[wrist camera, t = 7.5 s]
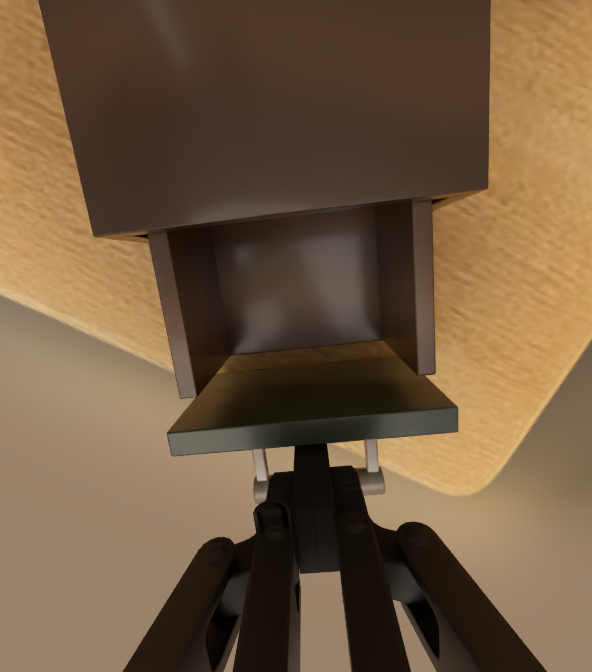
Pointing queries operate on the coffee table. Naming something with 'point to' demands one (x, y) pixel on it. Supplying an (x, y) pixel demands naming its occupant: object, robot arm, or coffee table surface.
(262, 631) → the robot arm
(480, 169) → the cabinet
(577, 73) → the coffee table surface
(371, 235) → the drawer
